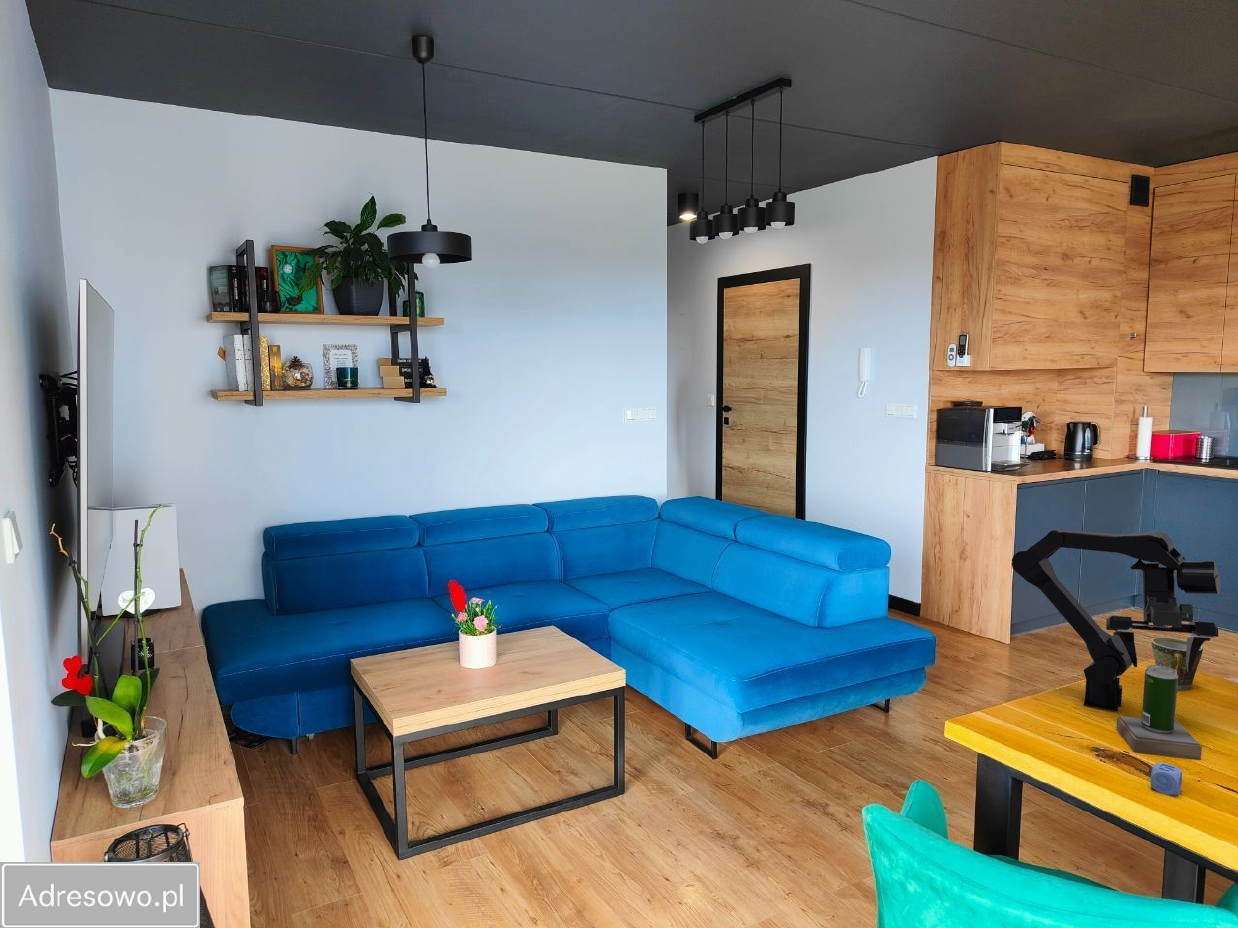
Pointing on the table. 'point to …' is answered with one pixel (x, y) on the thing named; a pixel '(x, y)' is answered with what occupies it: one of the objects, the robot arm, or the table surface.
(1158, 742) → the gray plinth
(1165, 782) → the decorative dice
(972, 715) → the table surface
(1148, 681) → the beer can
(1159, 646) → the ceramic cup
